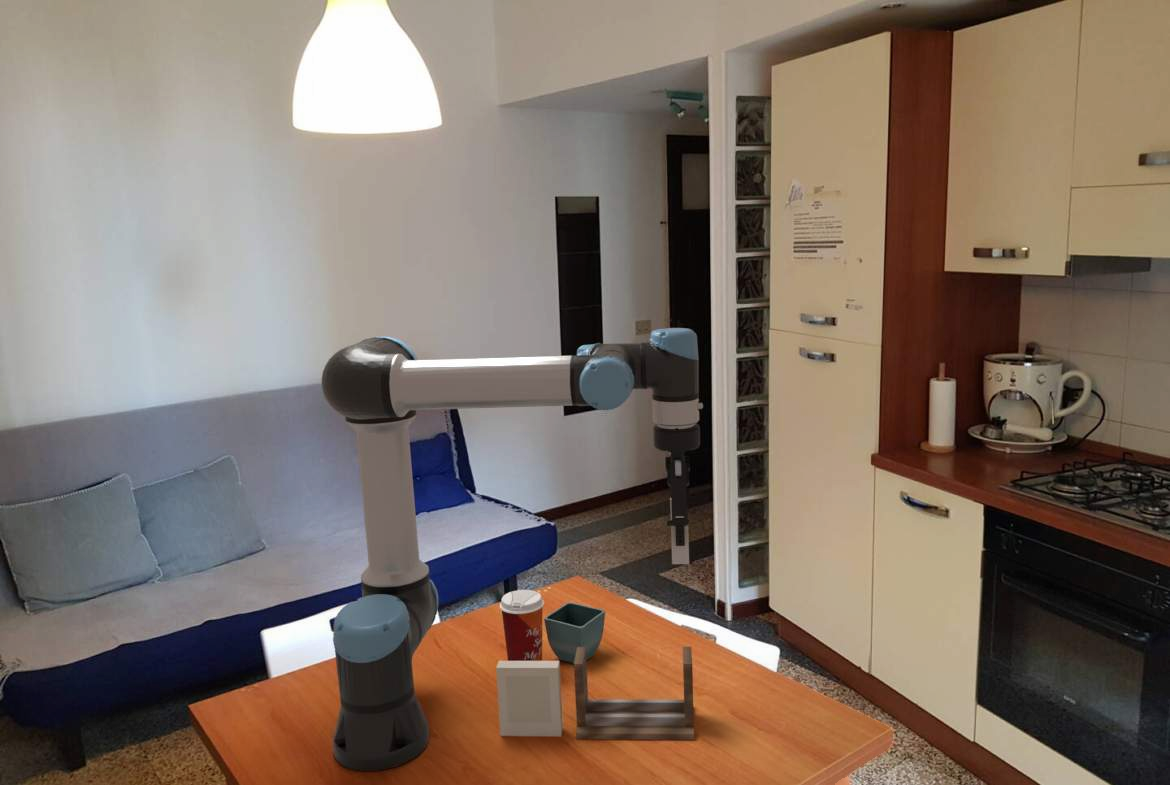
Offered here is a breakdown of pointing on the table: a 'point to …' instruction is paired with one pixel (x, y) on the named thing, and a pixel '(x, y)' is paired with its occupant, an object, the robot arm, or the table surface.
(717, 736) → the table surface
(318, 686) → the table surface
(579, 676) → the track
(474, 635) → the table surface
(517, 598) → the coffee cup
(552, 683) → the door panel
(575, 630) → the flower pot
